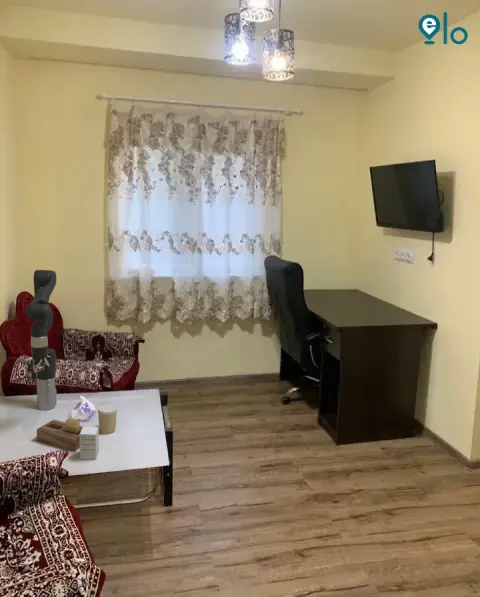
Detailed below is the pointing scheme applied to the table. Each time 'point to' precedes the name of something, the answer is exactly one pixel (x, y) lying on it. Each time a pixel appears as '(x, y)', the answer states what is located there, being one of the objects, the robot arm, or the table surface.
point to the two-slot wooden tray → (58, 435)
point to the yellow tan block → (73, 426)
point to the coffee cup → (107, 419)
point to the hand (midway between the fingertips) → (40, 376)
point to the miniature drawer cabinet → (89, 443)
